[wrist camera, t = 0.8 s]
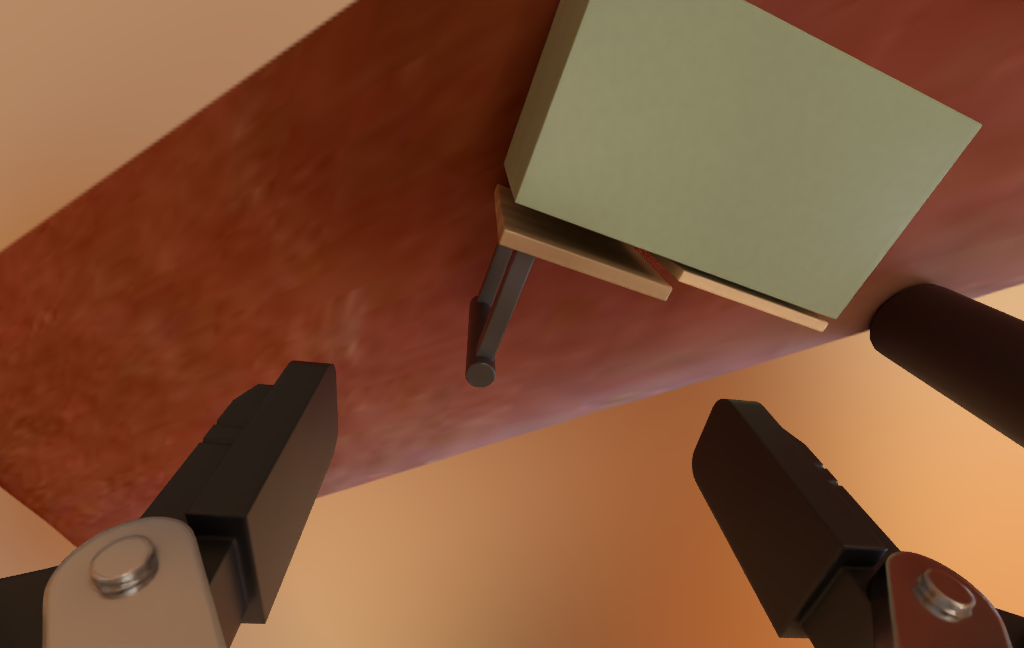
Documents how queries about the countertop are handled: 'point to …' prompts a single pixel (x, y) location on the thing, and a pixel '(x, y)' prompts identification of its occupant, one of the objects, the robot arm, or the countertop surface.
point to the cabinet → (728, 148)
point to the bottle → (958, 351)
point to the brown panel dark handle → (529, 240)
